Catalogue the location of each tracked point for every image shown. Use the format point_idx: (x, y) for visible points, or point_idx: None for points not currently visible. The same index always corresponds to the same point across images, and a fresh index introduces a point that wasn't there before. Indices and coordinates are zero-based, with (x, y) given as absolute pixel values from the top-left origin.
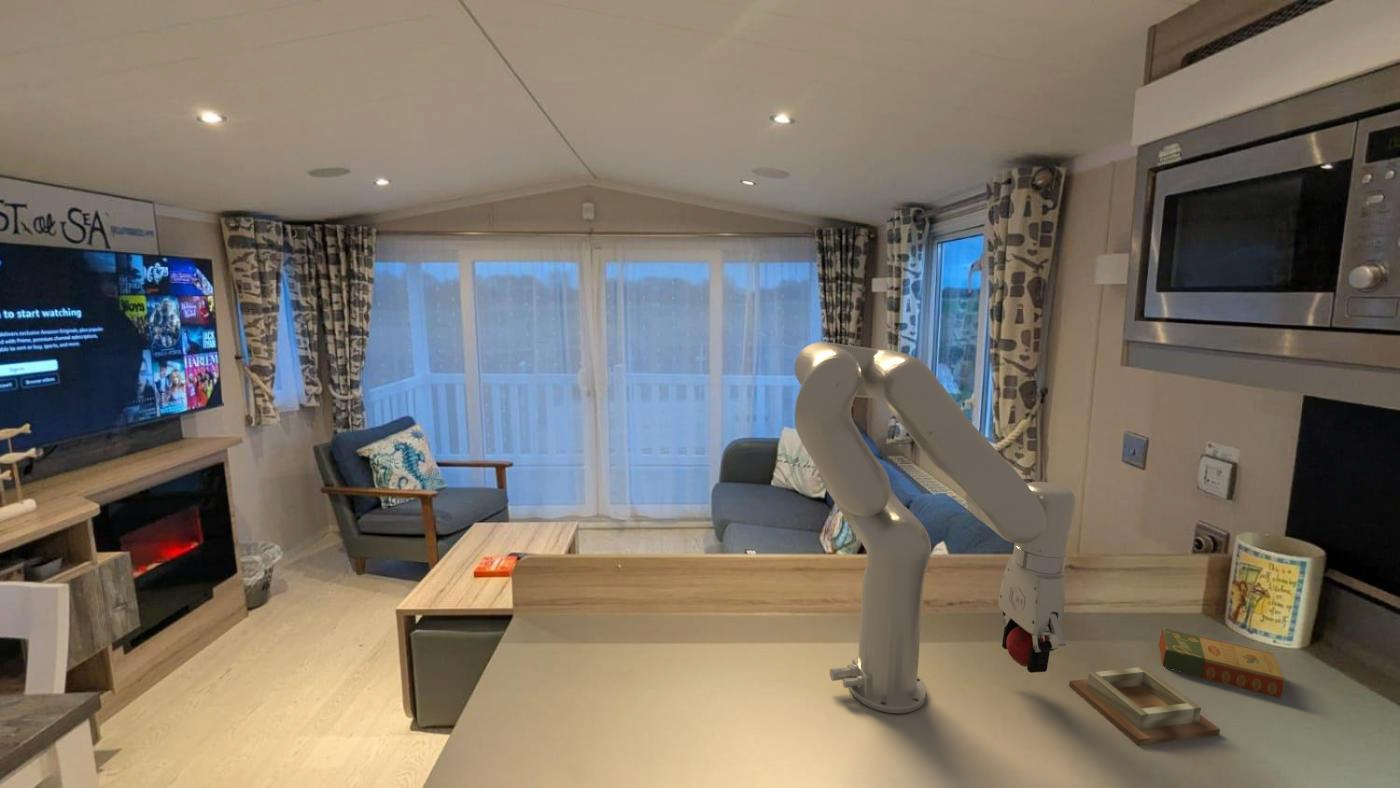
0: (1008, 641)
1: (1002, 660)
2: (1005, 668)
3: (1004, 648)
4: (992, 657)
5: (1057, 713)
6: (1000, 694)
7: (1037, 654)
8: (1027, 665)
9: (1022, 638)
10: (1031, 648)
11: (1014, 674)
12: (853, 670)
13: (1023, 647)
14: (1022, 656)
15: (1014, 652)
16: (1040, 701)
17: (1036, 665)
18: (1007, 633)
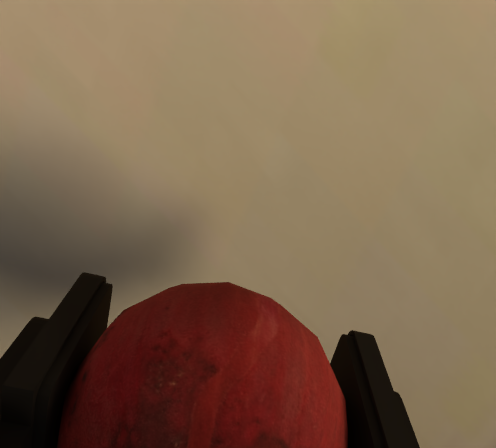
0: (272, 343)
1: (406, 341)
2: (357, 308)
3: (351, 333)
4: (446, 320)
5: (29, 257)
6: (220, 129)
7: (1, 392)
8: (104, 295)
9: (139, 439)
10: (35, 401)
11: (306, 308)
12: None
13: (116, 369)
14: (129, 314)
15: (187, 298)
16: (116, 258)
17: (39, 328)
18: (366, 424)
